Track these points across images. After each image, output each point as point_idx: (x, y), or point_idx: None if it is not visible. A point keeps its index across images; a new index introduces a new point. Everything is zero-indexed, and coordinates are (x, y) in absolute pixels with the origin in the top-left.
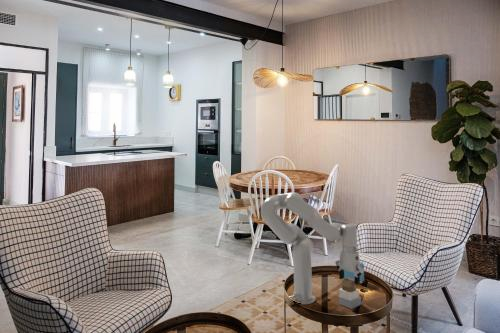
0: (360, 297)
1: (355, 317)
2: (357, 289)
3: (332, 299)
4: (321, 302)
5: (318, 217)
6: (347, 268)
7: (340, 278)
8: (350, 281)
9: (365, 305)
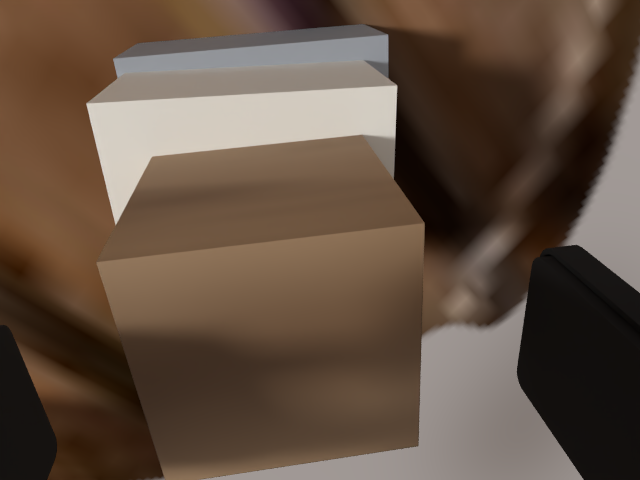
0: (382, 45)
1: (508, 314)
2: (368, 99)
3: (27, 222)
4: (47, 365)
5: None
6: None
7: (48, 464)
8: (372, 391)
9: (423, 2)
